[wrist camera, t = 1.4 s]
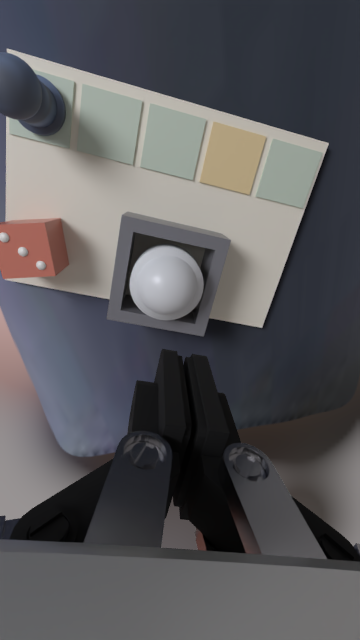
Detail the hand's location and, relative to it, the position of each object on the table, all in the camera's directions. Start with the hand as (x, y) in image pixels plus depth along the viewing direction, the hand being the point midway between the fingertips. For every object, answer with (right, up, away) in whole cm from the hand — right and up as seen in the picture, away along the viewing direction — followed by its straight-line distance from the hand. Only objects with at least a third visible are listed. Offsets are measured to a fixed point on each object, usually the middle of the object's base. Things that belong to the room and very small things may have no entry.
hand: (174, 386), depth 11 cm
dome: (-1, +6, +14) cm, 15 cm away
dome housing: (-1, +8, +17) cm, 19 cm away
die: (-12, +9, +15) cm, 21 cm away
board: (-2, +12, +15) cm, 20 cm away
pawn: (-10, +18, +11) cm, 24 cm away
